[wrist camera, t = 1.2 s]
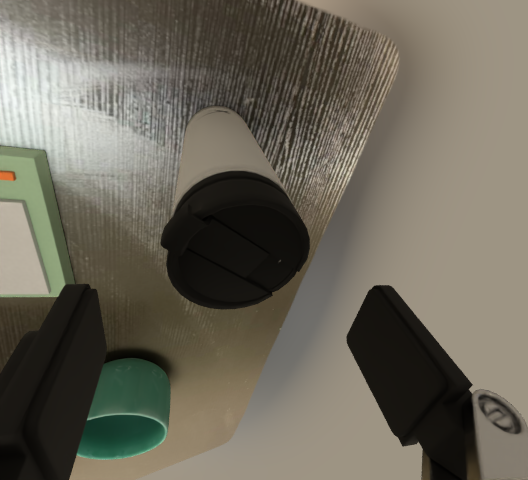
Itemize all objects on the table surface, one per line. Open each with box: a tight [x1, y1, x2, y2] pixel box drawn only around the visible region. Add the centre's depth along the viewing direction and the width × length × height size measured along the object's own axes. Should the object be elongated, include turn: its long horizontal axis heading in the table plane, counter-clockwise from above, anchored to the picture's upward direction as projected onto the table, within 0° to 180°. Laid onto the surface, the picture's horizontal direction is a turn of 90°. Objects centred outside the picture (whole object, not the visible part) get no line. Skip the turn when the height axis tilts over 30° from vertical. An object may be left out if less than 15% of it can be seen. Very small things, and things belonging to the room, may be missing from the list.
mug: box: [77, 358, 170, 460], centre depth 41 cm, size 17×13×10 cm
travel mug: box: [161, 106, 310, 309], centre depth 20 cm, size 6×7×20 cm
